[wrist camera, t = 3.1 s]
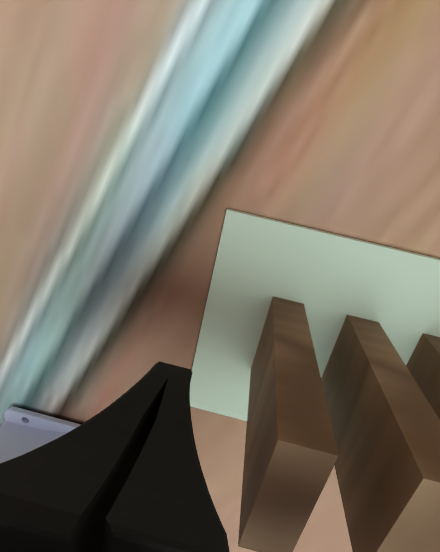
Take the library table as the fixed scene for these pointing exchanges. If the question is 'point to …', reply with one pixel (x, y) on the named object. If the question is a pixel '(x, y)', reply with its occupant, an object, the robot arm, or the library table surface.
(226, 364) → the mat
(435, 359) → the tile
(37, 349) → the library table surface
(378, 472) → the tile
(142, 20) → the library table surface
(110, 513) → the robot arm
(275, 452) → the tile
